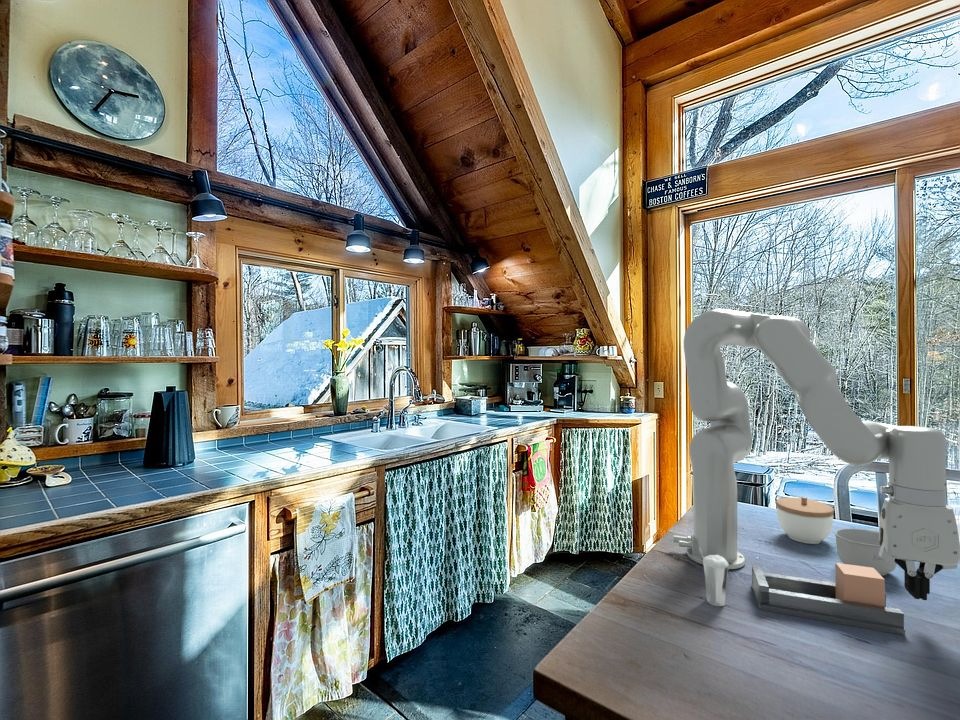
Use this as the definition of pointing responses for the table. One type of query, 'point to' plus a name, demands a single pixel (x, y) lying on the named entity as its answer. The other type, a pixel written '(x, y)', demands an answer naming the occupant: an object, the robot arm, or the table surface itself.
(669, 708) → the table surface
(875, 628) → the chute
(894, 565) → the teacup
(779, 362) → the robot arm
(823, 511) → the lidded bowl
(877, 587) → the block
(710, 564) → the milkshake
